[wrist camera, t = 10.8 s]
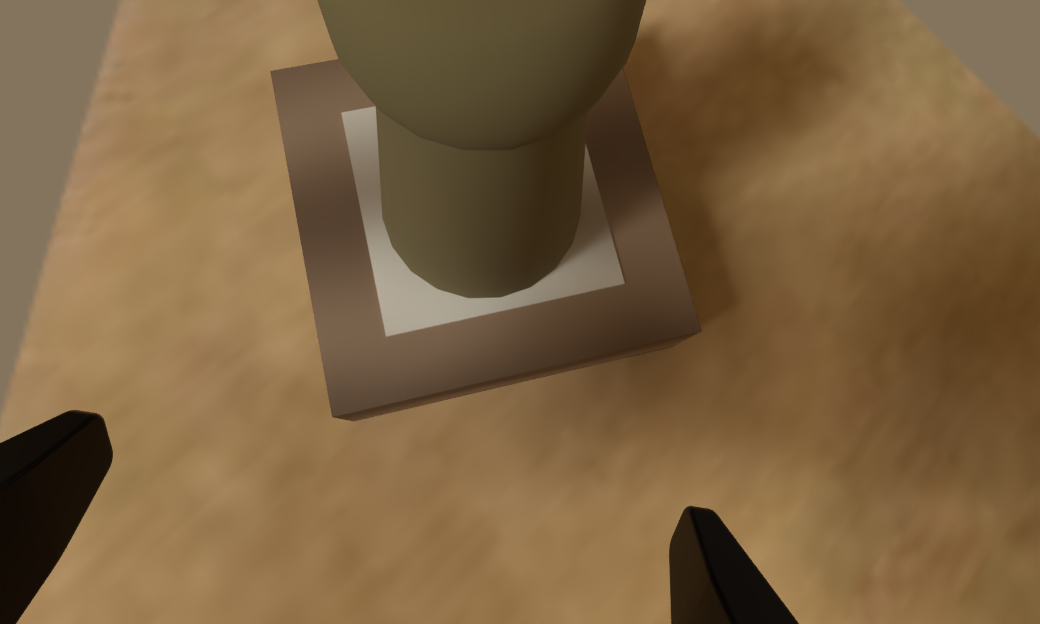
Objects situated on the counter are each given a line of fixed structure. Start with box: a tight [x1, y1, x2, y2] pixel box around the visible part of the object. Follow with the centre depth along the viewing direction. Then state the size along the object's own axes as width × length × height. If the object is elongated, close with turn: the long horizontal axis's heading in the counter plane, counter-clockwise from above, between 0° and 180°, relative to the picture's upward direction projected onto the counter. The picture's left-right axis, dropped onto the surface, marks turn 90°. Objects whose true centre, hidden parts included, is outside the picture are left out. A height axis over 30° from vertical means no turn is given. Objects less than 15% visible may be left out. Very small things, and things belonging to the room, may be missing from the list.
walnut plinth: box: [271, 59, 701, 421], centre depth 21 cm, size 11×11×3 cm
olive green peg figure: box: [318, 0, 646, 298], centre depth 14 cm, size 6×6×11 cm
